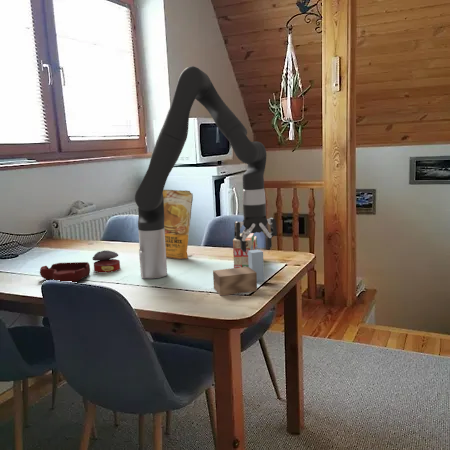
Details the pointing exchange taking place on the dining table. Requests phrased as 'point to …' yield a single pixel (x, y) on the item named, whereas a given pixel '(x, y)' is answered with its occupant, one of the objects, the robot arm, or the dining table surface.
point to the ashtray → (66, 271)
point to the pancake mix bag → (177, 222)
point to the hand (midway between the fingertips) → (256, 250)
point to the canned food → (106, 261)
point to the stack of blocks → (239, 255)
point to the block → (256, 263)
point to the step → (235, 280)
